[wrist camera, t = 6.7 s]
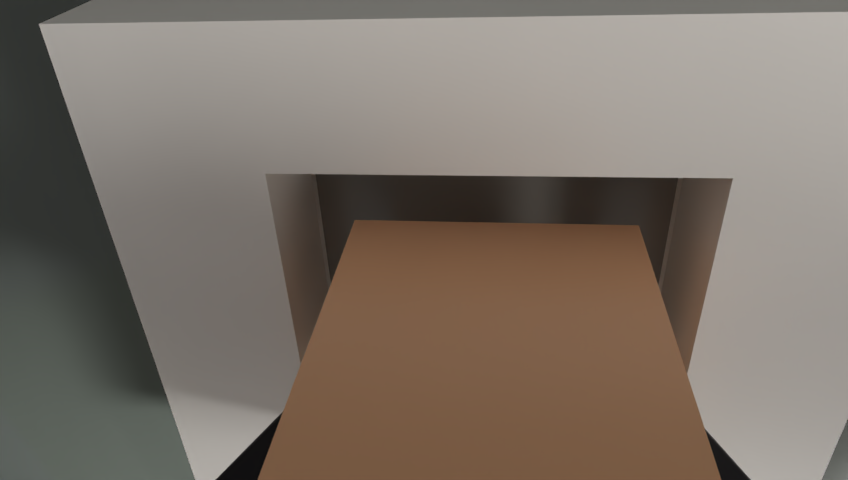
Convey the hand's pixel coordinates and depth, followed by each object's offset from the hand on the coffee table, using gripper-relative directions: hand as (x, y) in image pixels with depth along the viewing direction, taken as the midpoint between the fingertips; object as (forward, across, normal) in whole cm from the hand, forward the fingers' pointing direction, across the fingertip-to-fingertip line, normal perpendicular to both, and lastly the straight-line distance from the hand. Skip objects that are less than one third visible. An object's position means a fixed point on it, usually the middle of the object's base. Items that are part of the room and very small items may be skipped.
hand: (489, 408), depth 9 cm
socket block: (+4, 0, 0) cm, 4 cm away
